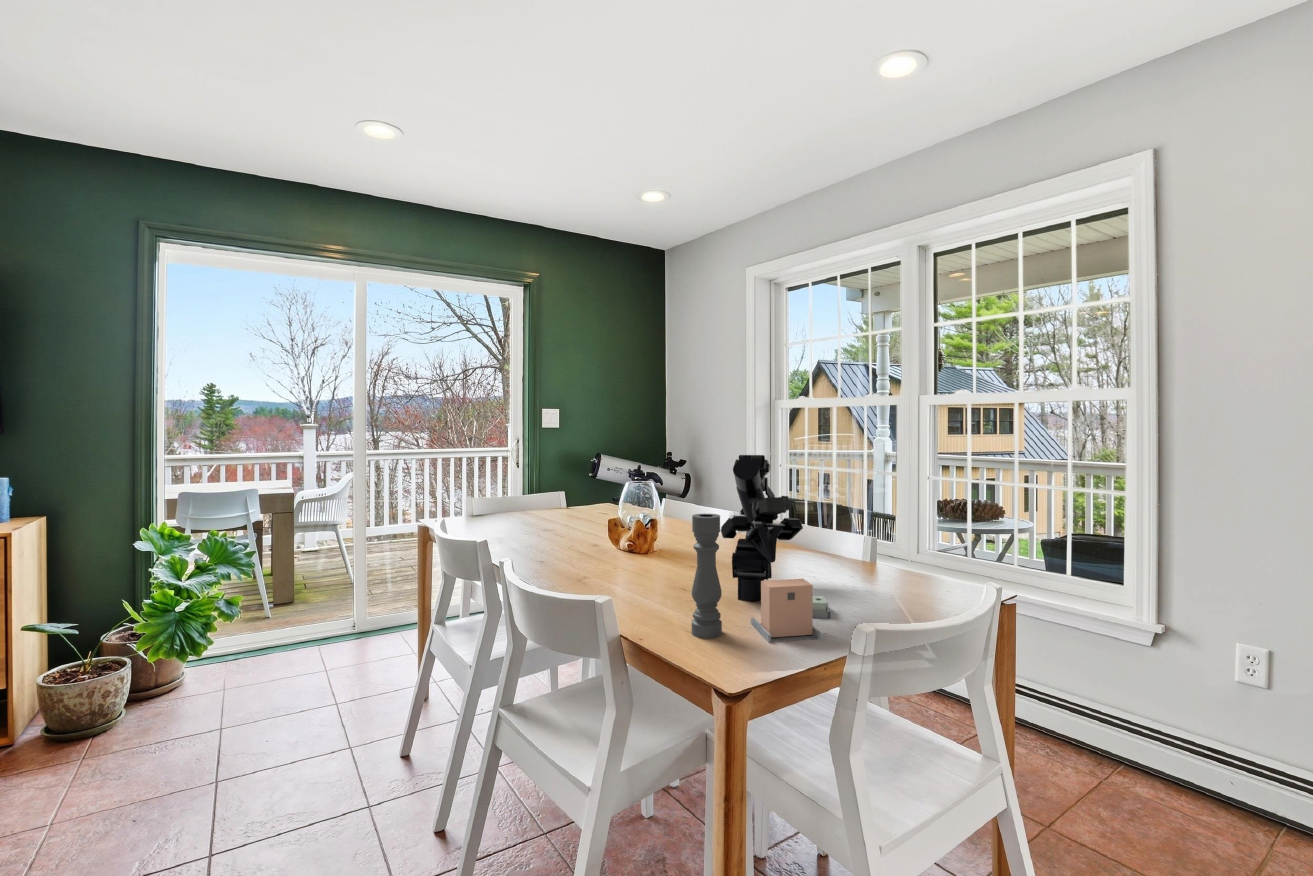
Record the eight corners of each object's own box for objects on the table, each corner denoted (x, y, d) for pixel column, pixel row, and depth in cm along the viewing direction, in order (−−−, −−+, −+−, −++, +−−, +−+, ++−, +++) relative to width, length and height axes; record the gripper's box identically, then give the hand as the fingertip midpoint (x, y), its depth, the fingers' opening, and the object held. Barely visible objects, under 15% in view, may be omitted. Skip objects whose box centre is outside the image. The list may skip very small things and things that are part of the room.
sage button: (801, 611, 141) (801, 601, 140) (800, 604, 146) (800, 595, 146) (826, 612, 140) (826, 602, 139) (824, 605, 145) (824, 596, 145)
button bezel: (795, 621, 139) (795, 611, 139) (794, 610, 147) (794, 600, 147) (833, 623, 138) (833, 612, 138) (830, 612, 146) (830, 602, 146)
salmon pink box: (761, 629, 131) (761, 580, 131) (802, 626, 133) (802, 578, 132) (769, 637, 126) (769, 587, 126) (812, 634, 128) (813, 585, 127)
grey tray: (751, 628, 135) (751, 617, 135) (798, 625, 137) (798, 614, 137) (768, 647, 124) (768, 634, 124) (820, 643, 126) (820, 631, 126)
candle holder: (703, 630, 134) (702, 512, 133) (728, 637, 130) (727, 515, 129) (685, 639, 130) (684, 516, 129) (710, 645, 126) (710, 519, 125)
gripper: (734, 479, 140) (754, 542, 131) (804, 484, 147) (827, 544, 138) (712, 506, 148) (729, 567, 138) (779, 510, 155) (800, 568, 146)
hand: (772, 561), depth 140 cm, fingers closed
